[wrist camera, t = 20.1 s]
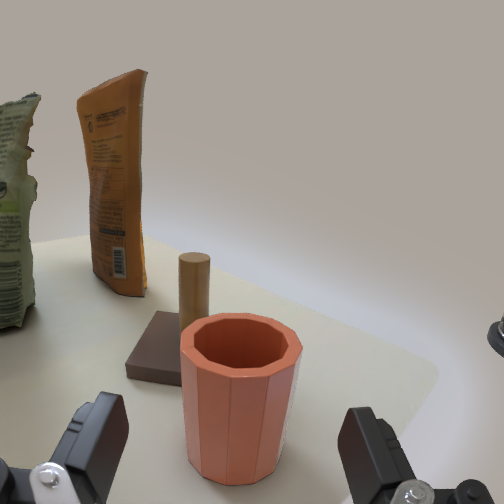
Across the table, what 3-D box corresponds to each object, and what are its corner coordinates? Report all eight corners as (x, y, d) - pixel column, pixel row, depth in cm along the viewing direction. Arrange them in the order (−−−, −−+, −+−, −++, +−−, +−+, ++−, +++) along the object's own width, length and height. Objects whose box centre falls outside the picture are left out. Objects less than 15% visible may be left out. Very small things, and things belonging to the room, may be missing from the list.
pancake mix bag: (118, 309, 35) (121, 62, 28) (74, 264, 48) (75, 93, 40) (165, 297, 40) (173, 70, 32) (109, 258, 53) (113, 94, 45)
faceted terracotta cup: (290, 433, 20) (312, 326, 17) (261, 497, 15) (281, 392, 12) (212, 410, 22) (214, 304, 19) (171, 463, 17) (156, 351, 14)
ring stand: (249, 331, 34) (255, 245, 31) (246, 392, 24) (255, 284, 22) (157, 322, 34) (154, 238, 31) (127, 377, 24) (114, 272, 22)
